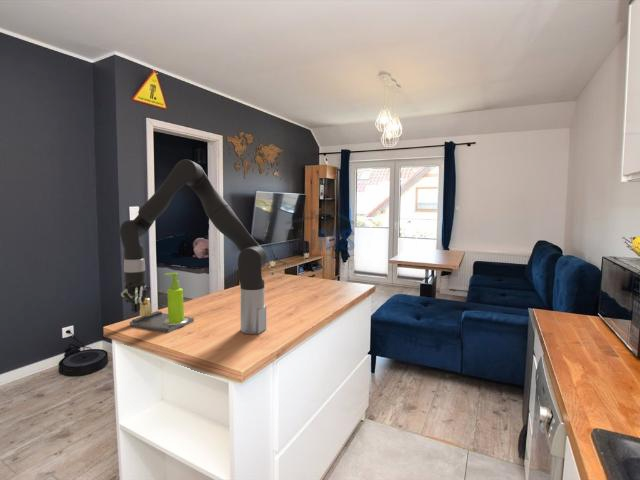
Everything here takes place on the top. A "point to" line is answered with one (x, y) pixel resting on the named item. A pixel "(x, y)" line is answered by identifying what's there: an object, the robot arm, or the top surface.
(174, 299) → the soap dispenser
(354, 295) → the top surface
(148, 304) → the press lever
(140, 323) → the plate
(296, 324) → the top surface
